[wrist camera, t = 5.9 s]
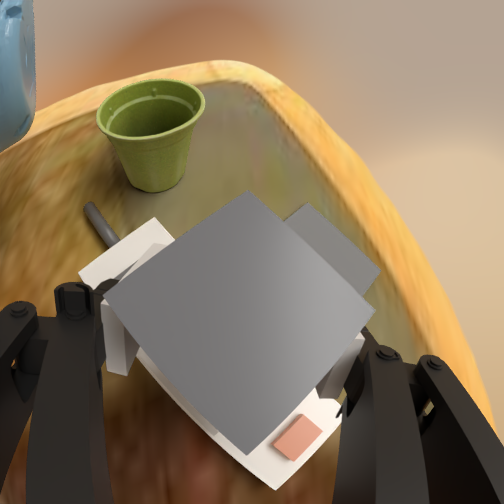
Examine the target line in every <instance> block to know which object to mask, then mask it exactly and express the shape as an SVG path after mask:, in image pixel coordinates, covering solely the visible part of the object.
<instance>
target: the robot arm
mask: <svg viewBox="0 0 504 504" xmlns="http://www.w3.org/2000/svg"><path fill="white" fill-rule="evenodd" d="M35 75H36V73H35V38H34V13H33V0H0V153H1V152H2V151H4V150H5V149H7V148H8V147H10V146H11V145H13V144H15V143H16V142H18V141H19V140H21V139H22V138H23V137H24V136H25V135H26V134H27V132H28V131H29V129H30V127H31V125H32V123H33V119H34V115H35V108H36V78H35V77H36V76H35ZM167 246H168V245H163V244H157V243H153V244H152V246H151V247H150V248H149V249H148V250H147V251H146V252H145V253H144V254H143V255H142V256H141V258H140V259H139V260H138V261H137V262H136V263H135V264H134V265H133V266H132V268H131V269H130V270H129V271H128V272H127V273H126V274H125V275H124V277H123V278H122V279H121V280H123V279H124V278H125V277H126V276H128V275H129V274H130V273H132V272H133V271H134V270H136V269H137V268H138V267H140V266H141V265H142V264H144V263H145V262H146V261H148V260H149V259H150V258H152V257H153V256H154V255H156V254H157V253H158V252H160V251H161V250H162V249H164V248H165V247H167ZM121 280H117V279H112V278H110V279H107V280H105V281H103V282H101V283H100V284H99V285H98V286H97V287H96V289H94V290H93V288H92V287H91V286H89V285H87V284H85V283H81V282H68V283H64V284H61V285H59V286H57V287H56V288H55V289H54V296H55V304H56V311H57V315H56V317H42V316H37V312H36V307H35V306H34V305H33V304H32V303H29V302H24V301H19V302H18V301H16V302H14V303H11V304H9V305H7V306H6V307H5V308H4V309H3V310H2V311H1V312H0V493H1V490H2V487H3V483H4V480H5V477H6V474H7V471H8V469H9V466H10V463H11V460H12V458H13V455H14V452H15V450H16V447H17V445H18V442H19V440H20V438H21V435H22V433H23V430H24V428H25V426H26V424H27V421H28V419H29V417H30V415H31V413H32V419H31V426H30V434H29V443H28V453H27V469H26V504H114V501H113V496H112V490H111V484H110V477H109V470H108V462H107V454H106V444H105V432H104V417H103V388H102V371H101V367H102V365H103V363H104V361H105V359H106V367H107V371H109V372H113V373H116V374H120V375H124V376H127V375H128V373H129V370H130V368H131V366H132V364H133V361H134V359H135V357H136V354H137V352H138V350H139V348H140V346H139V344H138V343H137V342H136V341H135V339H134V338H133V337H132V335H131V334H130V333H129V331H128V330H127V329H126V328H125V326H124V325H123V324H122V322H121V321H120V319H119V318H118V317H117V315H116V314H115V313H114V311H113V310H112V308H111V307H110V306H109V304H108V303H107V301H106V300H105V298H104V297H103V294H105V293H106V292H107V291H108V290H110V289H111V288H112V287H114V286H115V285H116V284H117V283H119V282H120V281H121ZM13 360H15V363H14V365H13V366H12V367H11V365H12V363H13ZM343 387H344V389H345V391H346V393H347V396H346V398H345V400H344V401H343V403H342V405H341V407H340V409H339V411H338V413H337V414H336V417H335V418H338V417H339V416H340V414H342V421H341V434H340V445H339V455H338V464H337V473H336V481H335V488H334V495H333V501H332V504H504V447H503V445H502V443H501V442H500V440H499V439H498V437H497V435H496V434H495V432H494V431H493V429H492V428H491V426H490V424H489V423H488V421H487V420H486V418H485V417H484V415H483V414H482V412H481V411H480V409H479V408H478V407H477V405H476V404H475V402H474V401H473V399H472V398H471V397H470V395H469V394H468V392H467V391H466V390H465V388H464V387H463V385H462V384H461V383H460V381H459V380H458V379H457V377H456V376H455V375H454V373H453V372H452V370H451V369H450V368H449V367H448V365H447V364H446V363H445V362H444V361H443V360H441V359H440V358H439V357H437V356H434V355H423V356H421V357H420V359H419V361H418V363H417V365H414V364H409V363H404V362H403V361H402V358H401V356H400V354H399V353H398V352H396V351H395V350H393V349H392V348H390V347H387V346H384V345H379V344H378V343H377V342H376V340H375V339H374V337H373V336H372V335H371V333H370V332H368V329H367V328H366V326H364V327H363V328H362V330H361V331H360V333H359V334H358V335H357V336H356V338H355V339H354V340H353V342H352V343H351V344H350V346H349V347H348V348H347V349H346V351H345V352H344V353H343V354H342V356H341V357H340V358H339V359H338V361H337V362H336V363H335V364H334V366H333V367H332V368H331V369H330V370H329V372H328V373H327V374H326V375H325V376H324V377H323V379H322V380H321V381H320V382H319V383H318V384H317V385H316V387H315V388H316V391H317V394H318V397H319V399H338V397H339V395H340V393H341V391H342V389H343ZM430 401H431V402H432V403H433V405H434V407H433V409H432V410H431V412H430V413H429V414H428V415H427V414H426V413H425V411H424V410H425V409H426V407H427V406H428V404H429V403H430ZM32 410H33V412H32Z"/></svg>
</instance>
